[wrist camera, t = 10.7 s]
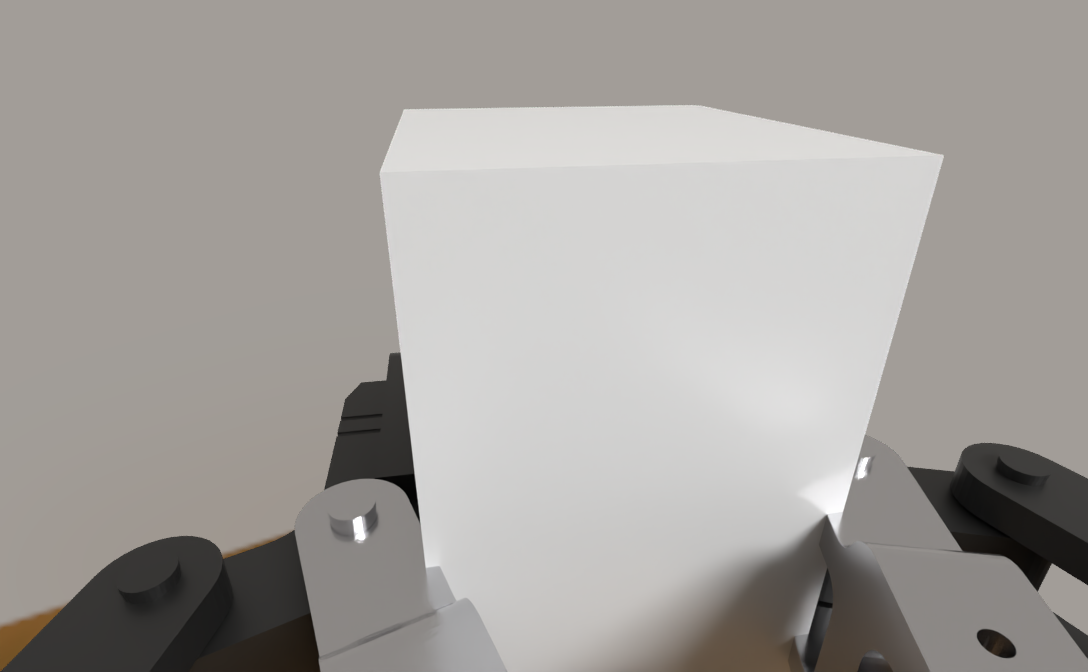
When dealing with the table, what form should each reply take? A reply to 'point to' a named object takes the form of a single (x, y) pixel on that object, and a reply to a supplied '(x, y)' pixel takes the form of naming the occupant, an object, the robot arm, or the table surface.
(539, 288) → the white tall block
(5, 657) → the table surface
